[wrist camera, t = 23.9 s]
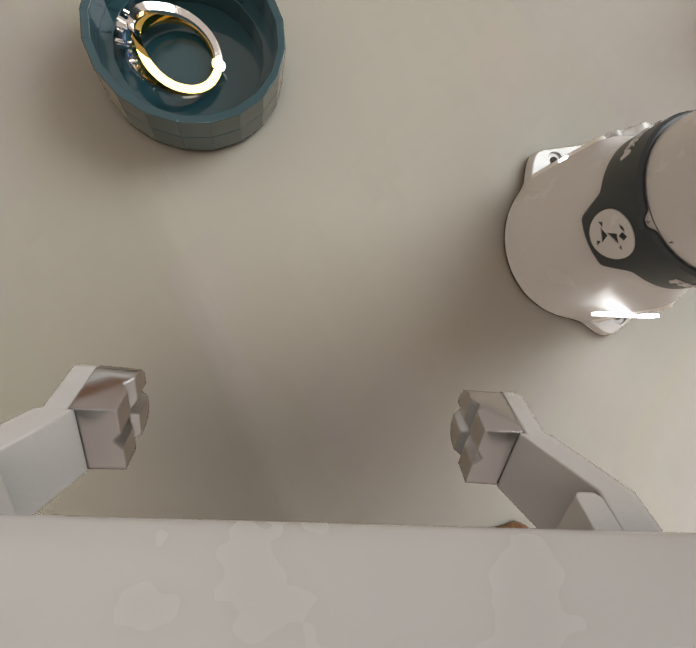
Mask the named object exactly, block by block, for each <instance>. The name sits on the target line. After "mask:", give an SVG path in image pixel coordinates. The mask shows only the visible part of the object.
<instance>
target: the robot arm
mask: <svg viewBox="0 0 696 648" xmlns="http://www.w3.org/2000/svg"><path fill="white" fill-rule="evenodd" d="M550 161H552V163H550ZM505 248H506V254H507V258H508V262H509V265H510V268H511V271H512V273H513V275H514V277H515V279H516V281H517V282H518V284H519V285H520V287H521V288H522V290H523V291H524V292H525V293H526V294H527V295H528V297H529V298H530V299H532V300H533V301H534V302H535V303H536V304H537V305H539V306H540V307H542V308H543V309H545V310H547V311H549V312H551V313H553V314H555V315H558V316H562V317H566V318H571V319H575V320H578V321H580V322H582V323H583V324H584V325H586V326H587V327H588V328H590V329H591V330H592V331H594V332H595V333H597V334H599V335H609V334H614V333H616V332H617V331H618V330H620V329H621V328H622V327H623V326H625V325H626V324H627V323H628V322H629V321H631V320H632V319H633V318H658V317H659V314H650V312H655V311H661V310H665V309H668V308H670V307H672V306H673V302H674V301H676V300H678V299H679V298H680V297H682V296H683V295H684V294H685V293H686V292H687V291H688V290H689V289H690V288H692V287H693V288H696V110H693V111H685V112H682V113H678V114H676V115H673V116H671V117H669V118H668V119H665V120H663V121H662V120H661V121H659V122H657V123H655V124H653V125H651V126H650V124H649V123H648V122H643V123H639V124H636V125H634V126H631V127H629V128H627V129H625V130H624V131H621V129H618V130H614V131H611V132H609V133H607V134H605V135H604V136H599V137H597V138H595V139H593V140H591V141H589V142H587V143H586V144H584V145H579V146H572V147H564V148H556V149H548V150H541V151H539V152H537V153H535V154H533V155H531V156H530V157H529V159H528V161H527V164H526V169H525V176H524V184H523V186H522V188H521V190H520V192H519V194H518V195H517V197H516V199H515V200H514V202H513V204H512V206H511V208H510V211H509V214H508V217H507V221H506V227H505ZM145 384H146V377H145V372H144V371H143V370H142V369H135V368H123V367H112V366H97V365H84V364H78V365H75V366H73V367H72V369H71V370H70V371H69V372H68V374H67V375H66V376H65V378H64V379H63V380H62V382H61V383H60V384H59V386H58V387H57V388H56V389H55V391H54V392H53V393H52V395H51V396H50V397H49V399H48V400H47V401H46V402H45V404H44V405H43V406H42V408H33V409H31V410H29V411H27V412H25V413H23V414H20V415H18V416H16V417H14V418H12V419H10V420H8V421H6V422H4V423H2V424H0V648H696V533H679V532H663V531H662V529H661V528H660V527H659V525H658V524H657V522H656V521H655V520H654V518H653V517H652V515H651V514H650V513H649V511H648V510H647V508H646V507H645V506H644V504H643V503H642V501H641V500H640V499H639V497H638V496H637V494H636V493H635V492H633V491H632V490H630V489H629V488H627V487H626V486H624V485H623V484H622V483H620V482H619V481H617V480H616V479H614V478H613V477H611V476H610V475H608V474H607V473H605V472H604V471H603V470H601V469H600V468H598V467H597V466H595V465H594V464H592V463H591V462H589V461H588V460H586V459H585V458H584V457H582V456H581V455H579V454H578V453H576V452H575V451H573V450H572V449H570V448H569V447H568V446H566V445H565V444H563V443H562V442H560V441H559V440H557V439H556V438H554V437H553V436H551V435H545V433H544V432H543V430H542V428H541V427H540V425H539V423H538V422H537V420H536V418H535V417H534V415H533V413H532V412H531V410H530V408H529V407H528V405H527V403H526V402H525V400H524V398H523V397H522V395H521V394H520V393H518V392H501V391H500V392H491V391H474V390H463V391H462V392H461V394H460V396H459V399H458V403H459V406H460V410H458V411H457V412H456V413H454V415H453V418H452V422H451V430H450V435H451V442H452V445H453V448H454V450H456V451H457V452H458V453H459V454H460V455H461V456H460V459H459V462H458V463H459V465H460V468H461V471H462V474H463V477H464V480H465V483H478V484H493V485H497V487H498V488H499V489H500V490H501V491H502V492H503V493H504V494H505V495H506V496H507V497H508V498H509V499H510V500H511V501H512V503H513V504H514V505H515V506H516V507H517V508H518V509H519V510H520V511H521V512H522V513H523V514H524V515H525V516H526V517H527V518H528V519H529V520H530V521H531V522H532V523H533V524H534V525H535V526H536V527H537V529H533V528H492V527H453V526H419V525H385V524H351V523H313V522H275V521H238V520H201V519H164V518H127V517H91V516H54V515H34V514H35V513H36V512H38V511H39V510H40V509H41V508H42V507H44V506H45V505H46V504H47V503H49V502H50V501H51V500H52V499H54V498H55V497H56V496H57V495H59V494H60V493H61V492H62V491H64V490H65V489H66V488H67V487H69V486H70V485H71V484H72V483H74V482H75V481H76V480H77V479H79V478H80V477H81V476H82V475H83V474H85V473H86V472H87V471H88V469H127V467H128V465H129V463H130V460H131V458H132V456H133V454H134V452H135V449H136V443H135V439H136V438H137V437H139V436H140V435H142V434H143V431H144V429H145V427H146V424H147V419H148V414H149V400H148V396H147V395H146V394H145V393H144V392H143V391H142V390H143V388H144V386H145Z"/></svg>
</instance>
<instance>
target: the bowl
mask: <svg viewBox="0 0 696 648" xmlns="http://www.w3.org/2000/svg"><path fill="white" fill-rule="evenodd" d="M147 1H155V2H163V3H168V4H172V5H176V6H178V7H181V8H183V9H185V10H187V11H189V12H190V13H192V14H193V15H195V16H196V17H197V18H199V19H200V20H201V21H202V22H203V23H204V24H205V25H206V26H207V27H208V28H209V29H210V31H211V32H212V33H213V35H214V36H215V38H216V40H217V42H218V44H219V46H220V49H221V53H222V61H224V63H225V70H224V72H223V74H222V75H221V76H220V77H219V79H218V81H217V83H216V85H215V86H214V88H213V89H212V90H211V91H209V92H208V93H207V94H205V95H203V96H200V97H196V98H177V97H173V96H169V95H167V94H164V93H162V92H160V91H158V90H156V89H155V88H153V87H151V86H150V85H148V84H147V83H145V82H144V81H143V80H141V79H140V78H139V77H138V76H137V75H136V74H135V73H134V72H133V71H132V69H131V68H130V66H129V65H128V63H127V60H126V58H125V55H124V50H123V49H119V48H116V42H115V37H116V38H118V39H121V40H122V33H120V32H118V31H117V28H116V23H117V21H118V20H117V18H118V16H121V17H123V18H124V19H126V18H127V16H125V15H124V14H123V9H125V10H127V11H128V12H129V11H130V10H131V9H132V8H133V7H134V6H135V5H137V4H139V3H141V2H147ZM79 7H80V8H79V11H80V27H81V38H82V42H83V44H84V46H85V49H86V51H87V54H88V56H89V58H90V61H91V63H92V65H93V68H94V70H95V71H96V73H97V75H98V77H99V79H100V81H101V82H102V84H103V86H104V88H105V90H106V91H107V93H108V95H109V97H110V99H111V101H112V102H113V104H114V105H115V106H116V107H117V108H118V109H119V111H120V112H121V113H122V114H123V115H124V116H125V118H126V119H127V120H128V121H129V122H130V123H131V124H132V125H133V126H134V127H136V128H138V129H139V130H141V131H142V132H144V133H145V134H147V135H148V136H150V137H152V138H153V139H155V140H156V141H159V142H162V143H165V144H169V145H172V146H175V147H179V148H182V149H187V150H214V149H215V150H216V149H219V148H222V147H225V146H229V145H232V144H235V143H238V142H240V141H243V140H244V139H245V138H247V137H248V136H250V135H251V134H252V133H254V132H255V131H256V130H258V129H259V128H261V126H263V124H264V123H265V121H266V120H267V118H268V117H269V115H270V114H271V112H272V111H273V109H274V108H275V106H276V104H277V100H278V96H279V92H280V88H281V84H282V77H283V68H284V58H285V49H286V47H285V35H284V24H283V19H282V16H281V14H280V12H279V9H278V7H277V4H276V2H275V0H81V3H80V6H79ZM143 16H145V15H143ZM143 16H141V17H139V19H138V21H139V20H140V19H141V18H142V17H143ZM140 39H141V41H142V44H143V46H144V48H145V51H146V53H147V54H148V56H149V58H150V59H151V61H152V62H153V63H154V65H155V66H156V67H157V68H158V69H159V70H160V71H161V72H162V73H163V74H164V75H165V76H167V77H168V78H170V79H171V80H173V81H175V82H178V83H181V84H185V85H198V84H201V83H203V82H205V81H206V80H207V79H208V78H209V77H210V76H211V74H212V73H211V72H210V65H211V62H212V56H211V52H210V50H209V48H208V46H207V44H206V43H205V42H204V40H203V39H202V38H201V37H200V36H199V35H198V34H196V33H195V32H194V31H192V30H191V29H189V28H187V27H185V26H182V25H179V24H173V23H165V24H160V25H156V26H154V27H152V28H150V29H149V30H148V31H146V32H145V33H144V34H143V35H142V37H140ZM132 53H133V55H134V57H135V59H136V60H137V58H136V56H135V53H134V51H133V47H132ZM137 61H138V60H137ZM138 63H139V62H138Z"/></svg>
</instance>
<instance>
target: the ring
mask: <svg viewBox="0 0 696 648" xmlns="http://www.w3.org/2000/svg"><path fill="white" fill-rule="evenodd" d="M123 14H124V15H125V16H127V18H126V19H124V18H123V17H121V16H118V18H117V20H118V21H117V23H116V28H117V31H118V32H120V33H122V40H121V39H118V38H116V37H115V42H116V48H119V49H123V50H124V55H125V58H126V60H127V63H128V65H129V66H130V68H131V69H132V71H133V72H134V73H135V74H136V75H137V76H138V77H139V78H140V79H141V80H143V81H144V82H145V83H147V84H148V85H150V86H151V87H153V88H155V89H156V90H158V91H160V92H162V93H164V94H167V95H169V96H173V97H177V98H196V97H200V96H203V95H205V94H207V93H208V92H209V91H211V90H212V89H213V88H214V86H215V85H216V83H217V81H218V79H219V77H220V76H221V75H222V74H223V72H224V70H225V63H224V61H222V53H221V49H220V46H219V44H218V42H217V40H216V38H215V36H214V35H213V33H212V32H211V31H210V29H209V28H208V27H207V26H206V25H205V24H204V23H203V22H202V21H201V20H200V19H199V18H197V17H196V16H195V15H193V14H192V13H190V12H189V11H187V10H185V9H183V8H181V7H178V6H176V5H172V4H168V3H163V2H155V1H147V2H141V3H139V4H137V5H135V6H134V7H133V8H132V9H131V10H130V11H129V12H128V11H127V10H125V9H123ZM143 15H145V16H143ZM141 16H143V17H142V18H141V19H140V20H139V21H138V19H139V17H141ZM165 23H173V24H179V25H182V26H185V27H187V28H189V29H191V30H192V31H194V32H195V33H196V34H198V35H199V36H200V37H201V38H202V39H203V40H204V42H205V43H206V44H207V46H208V48H209V50H210V52H211V56H212V62H211V65H210V72H211V73H212V74H211V76H210V77H209V78H208V79H207V80H206V81H205V82H203V83H201V84H198V85H185V84H181V83H178V82H175V81H173V80H171V79H170V78H168V77H167V76H165V75H164V74H163V73H162V72H161V71H160V70H159V69H158V68H157V67H156V66H155V65H154V63H153V62H152V61H151V59H150V58H149V56H148V54H147V53H146V51H145V48H144V46H143V44H142V41H141V39H140V37H142V35H143V34H144V33H145V32H146V31H148V30H149V29H150V28H152V27H154V26H156V25H160V24H165ZM132 47H133V51H134V53H135V56H136V58H137V60H138V61H137V60H136V59H135V57H134V55H133V53H132ZM138 62H139V63H138Z"/></svg>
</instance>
